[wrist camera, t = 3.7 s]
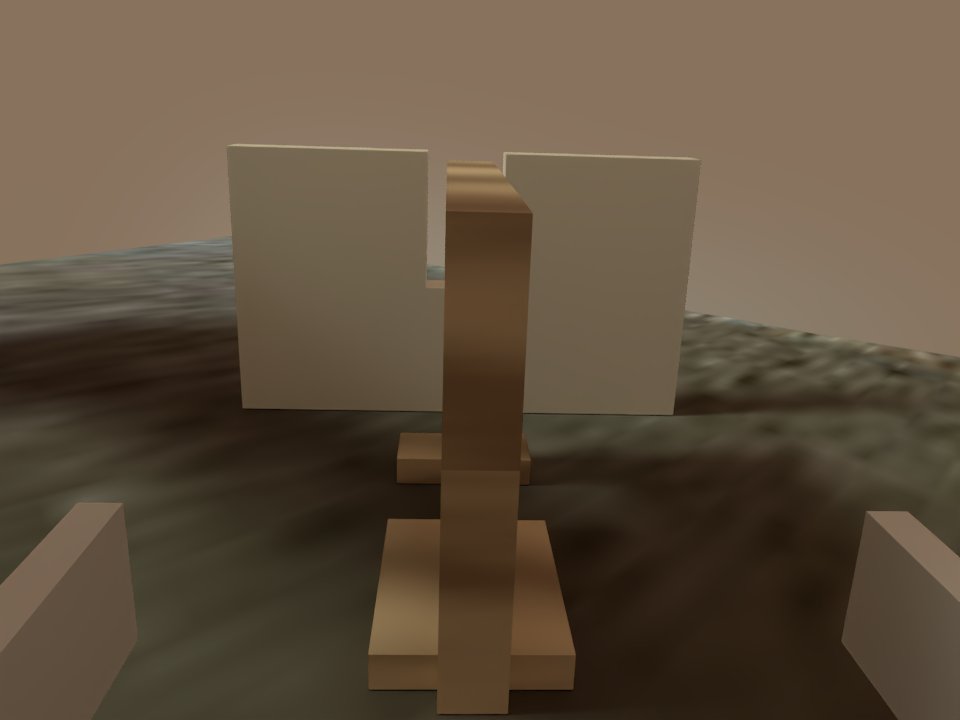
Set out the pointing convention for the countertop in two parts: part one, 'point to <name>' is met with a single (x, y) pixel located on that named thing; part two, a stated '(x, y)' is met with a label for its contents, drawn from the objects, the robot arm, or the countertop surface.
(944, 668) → the robot arm
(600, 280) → the cream board
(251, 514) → the countertop surface
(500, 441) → the brown angled piece
